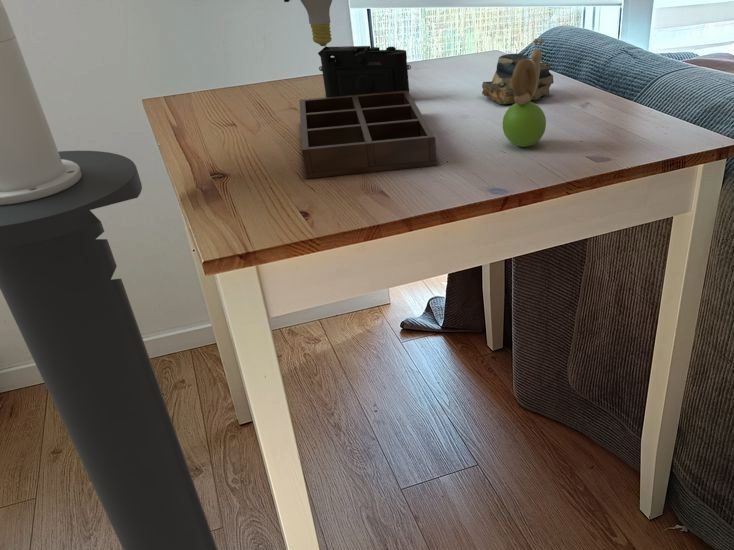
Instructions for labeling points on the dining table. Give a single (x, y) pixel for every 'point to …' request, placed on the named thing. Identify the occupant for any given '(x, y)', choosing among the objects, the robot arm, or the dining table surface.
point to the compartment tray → (364, 134)
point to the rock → (502, 80)
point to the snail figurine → (525, 103)
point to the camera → (363, 70)
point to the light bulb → (319, 19)
